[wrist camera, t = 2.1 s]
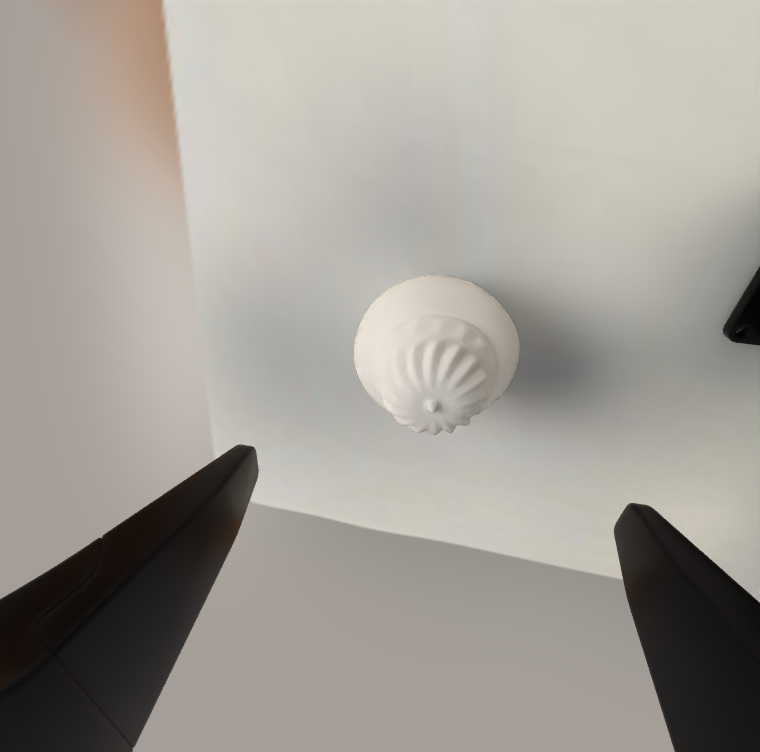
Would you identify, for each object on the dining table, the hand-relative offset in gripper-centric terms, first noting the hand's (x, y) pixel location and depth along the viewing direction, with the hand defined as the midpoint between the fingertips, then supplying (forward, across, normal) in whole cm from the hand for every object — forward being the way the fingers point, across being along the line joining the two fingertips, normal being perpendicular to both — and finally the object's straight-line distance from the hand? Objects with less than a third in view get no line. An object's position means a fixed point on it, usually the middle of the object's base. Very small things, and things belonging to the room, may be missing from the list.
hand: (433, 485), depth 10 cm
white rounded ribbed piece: (+10, 0, 0) cm, 10 cm away
